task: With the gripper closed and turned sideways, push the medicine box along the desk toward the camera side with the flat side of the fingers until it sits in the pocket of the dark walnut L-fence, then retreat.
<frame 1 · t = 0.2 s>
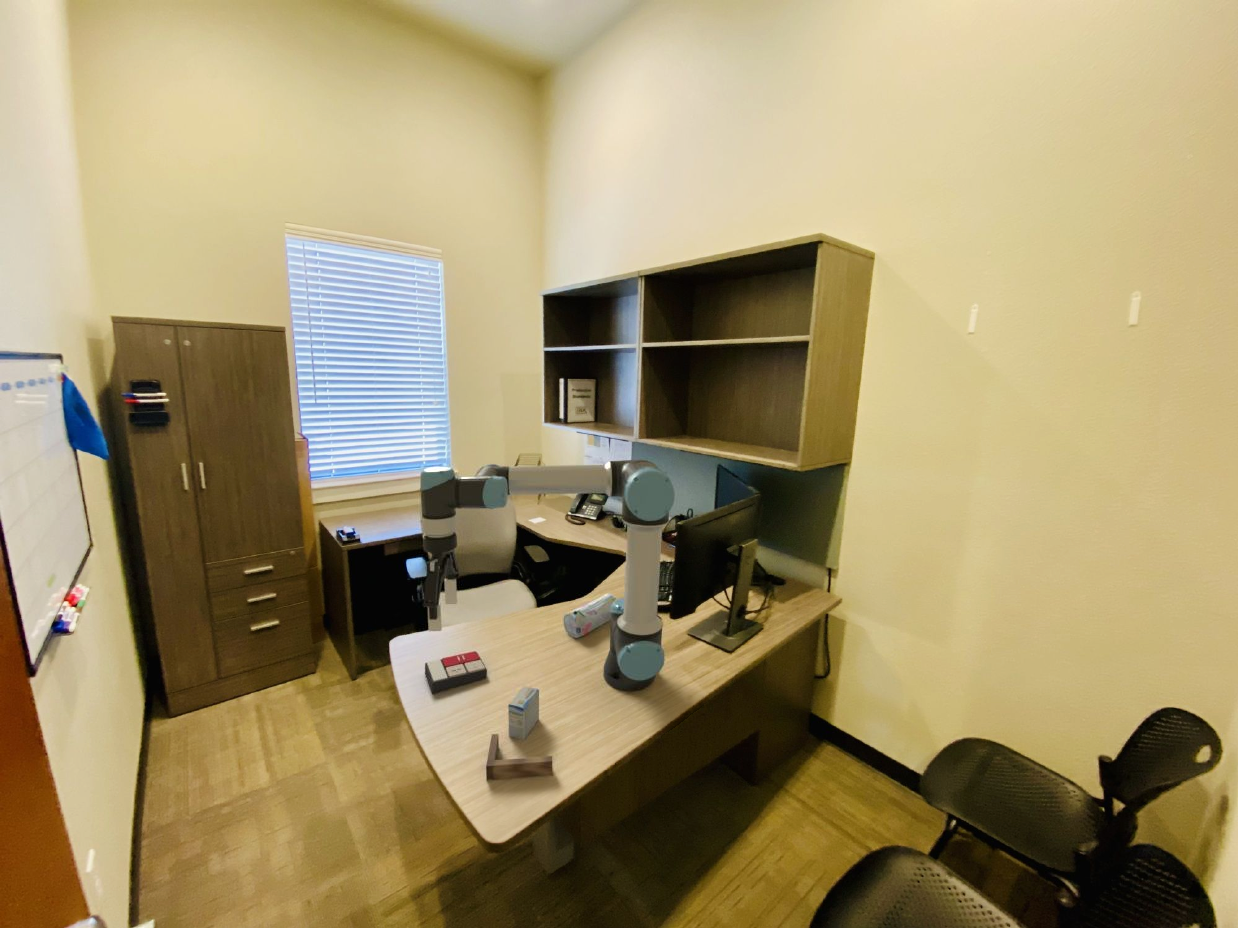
hand: (443, 616, 120), 27 cm above the table, fingers open, 13 cm apart
medicine box: (524, 728, 121), on the table
pencil case: (591, 627, 171), on the table
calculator: (456, 677, 142), on the table
corner fence: (520, 772, 108), on the table
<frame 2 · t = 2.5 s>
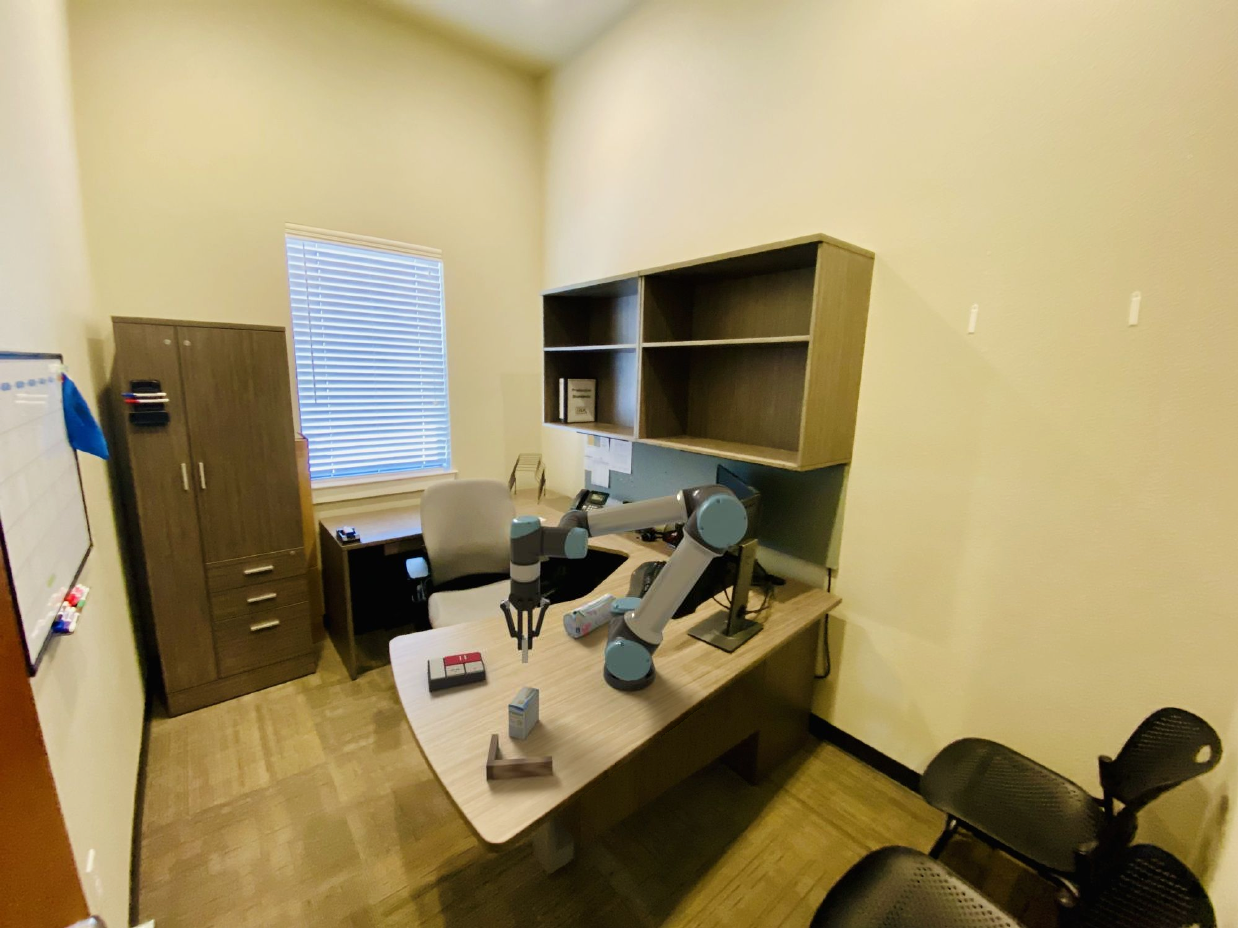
hand: (525, 659, 130), 11 cm above the table, fingers closed
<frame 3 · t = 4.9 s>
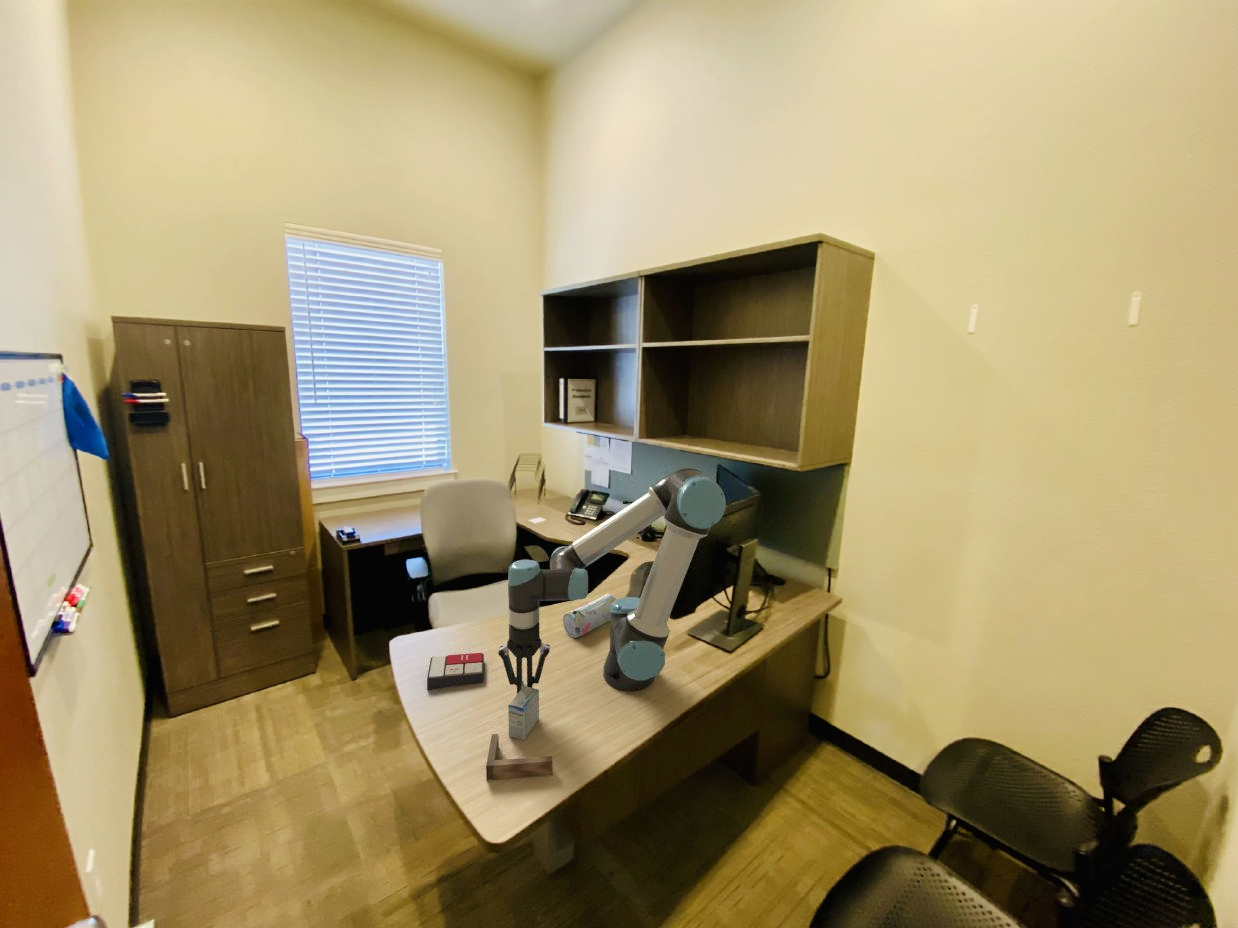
hand: (524, 706, 127), 2 cm above the table, fingers closed
medicine box: (524, 728, 121), on the table, touching gripper
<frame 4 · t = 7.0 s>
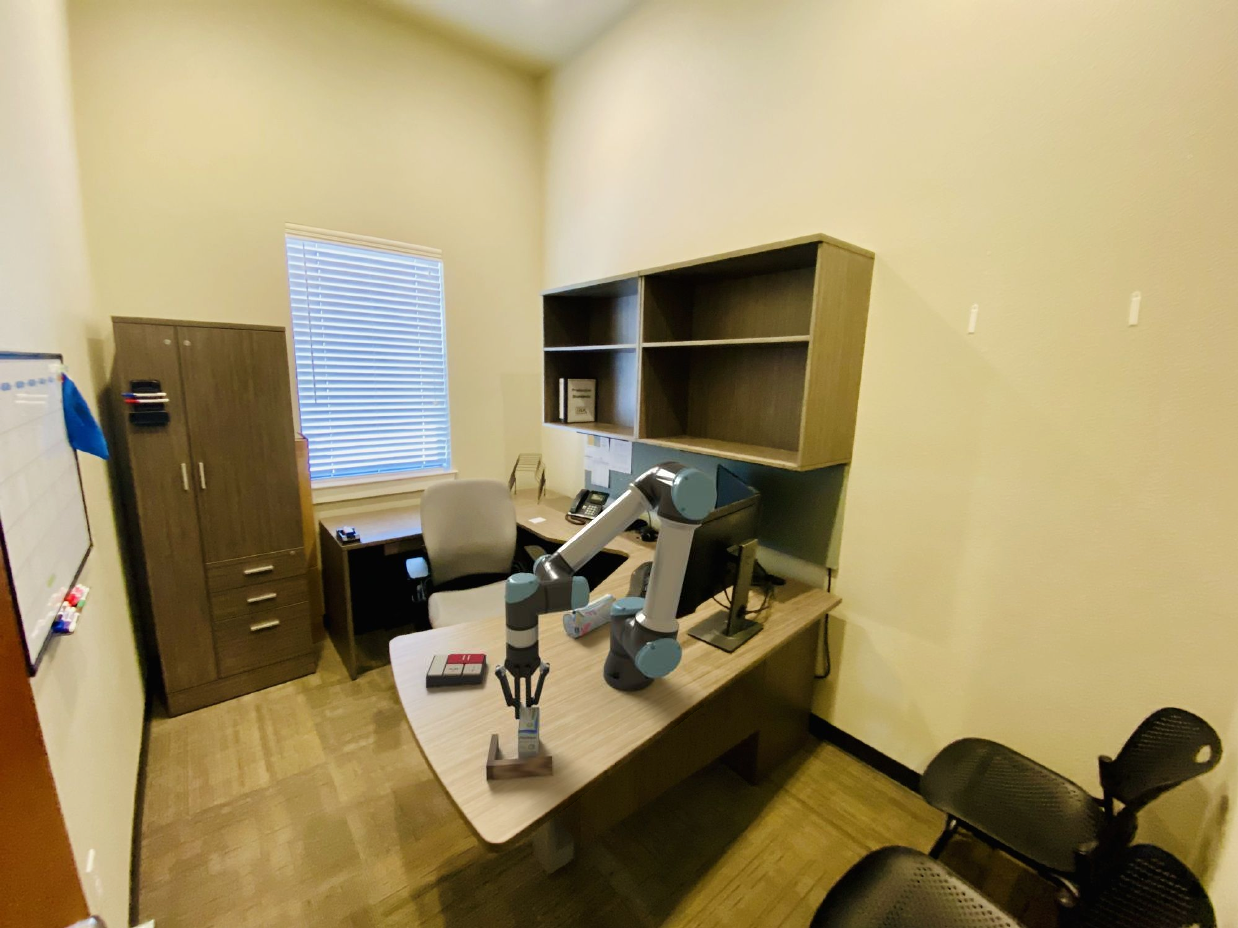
hand: (523, 729, 119), 1 cm above the table, fingers closed
medicine box: (529, 751, 114), on the table
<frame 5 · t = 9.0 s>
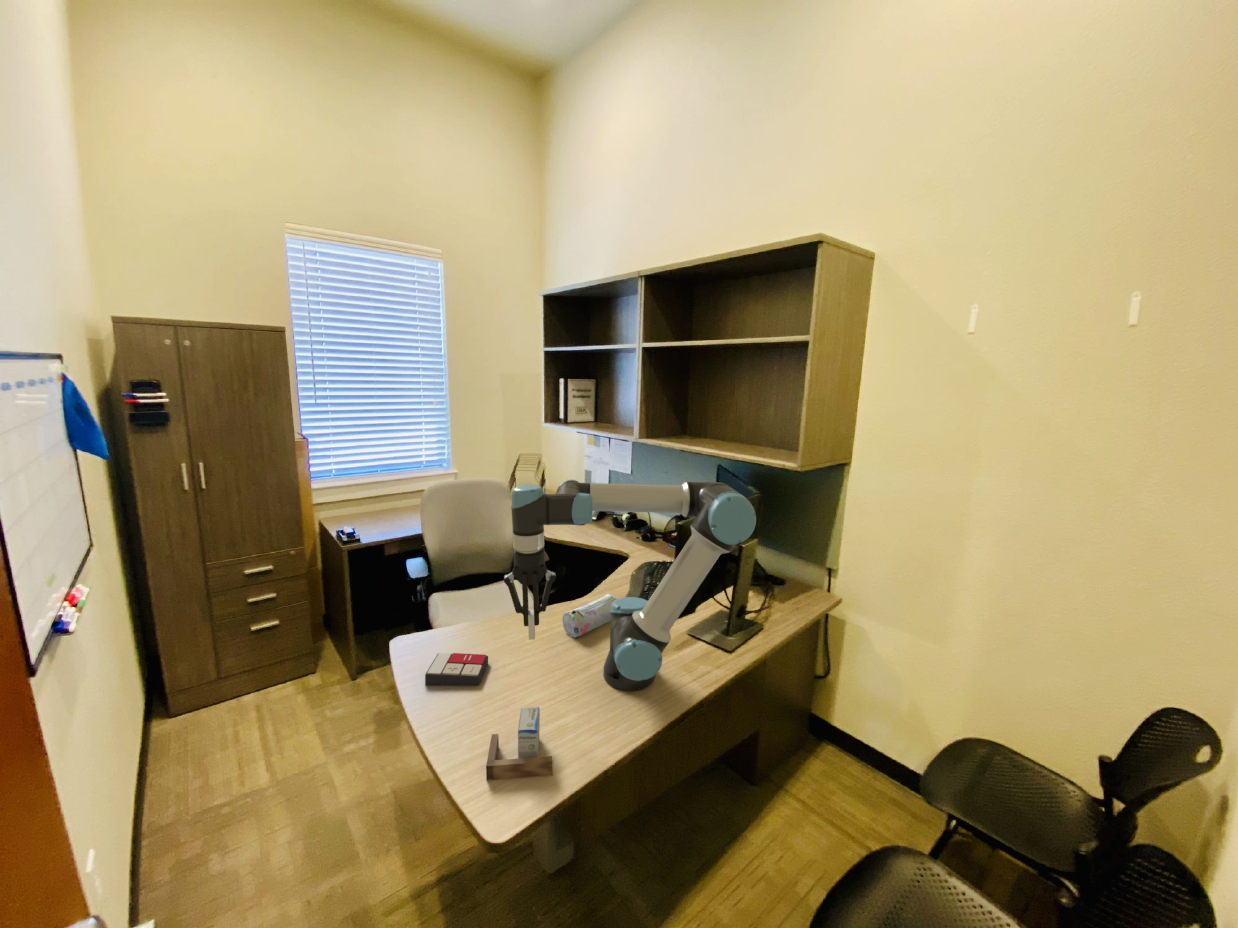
hand: (532, 636, 125), 20 cm above the table, fingers closed
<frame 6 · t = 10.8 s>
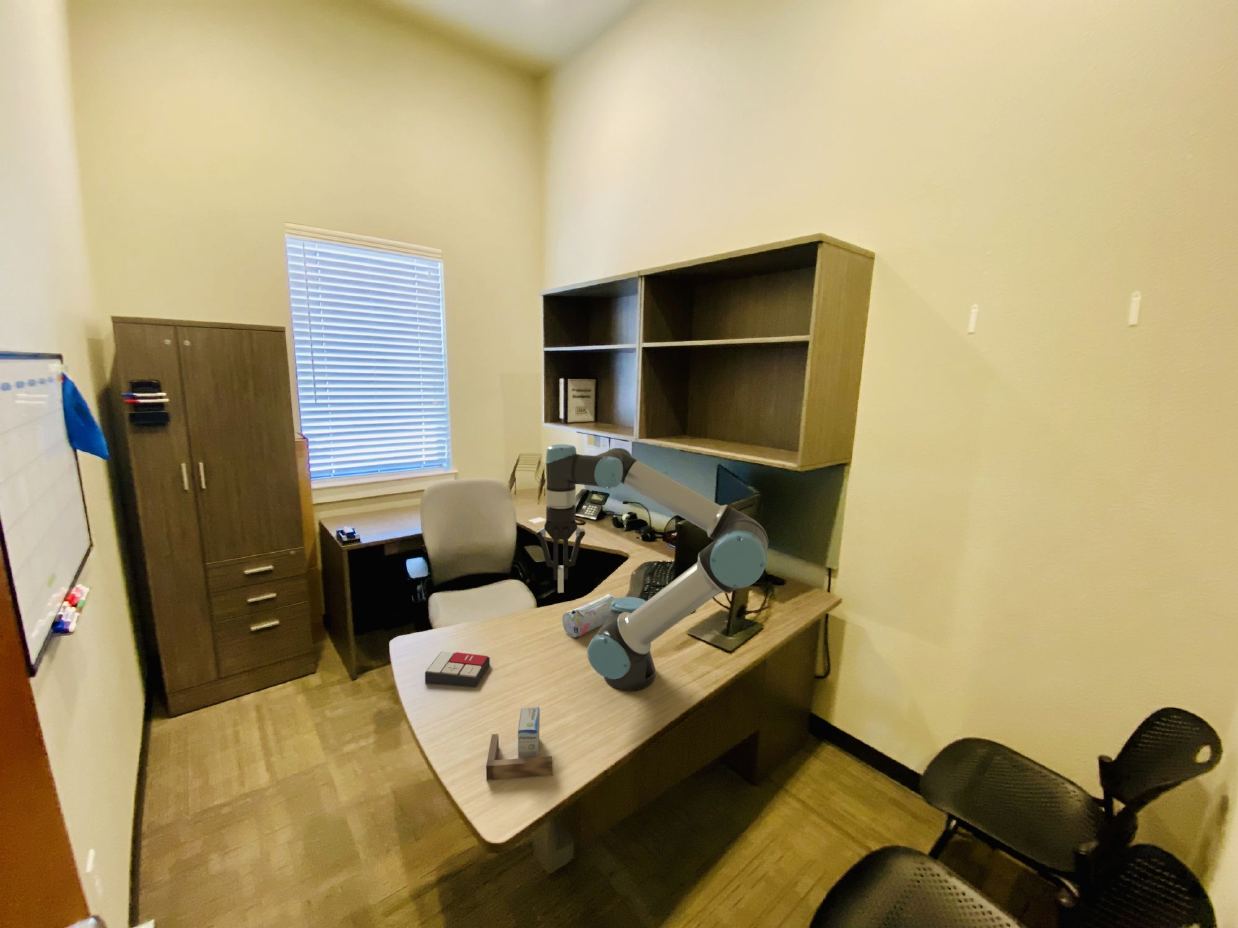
hand: (560, 590, 131), 29 cm above the table, fingers closed
at the end: medicine box inside the target area (1.6 cm from its centre), on the table; medicine box tilted 0° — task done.
